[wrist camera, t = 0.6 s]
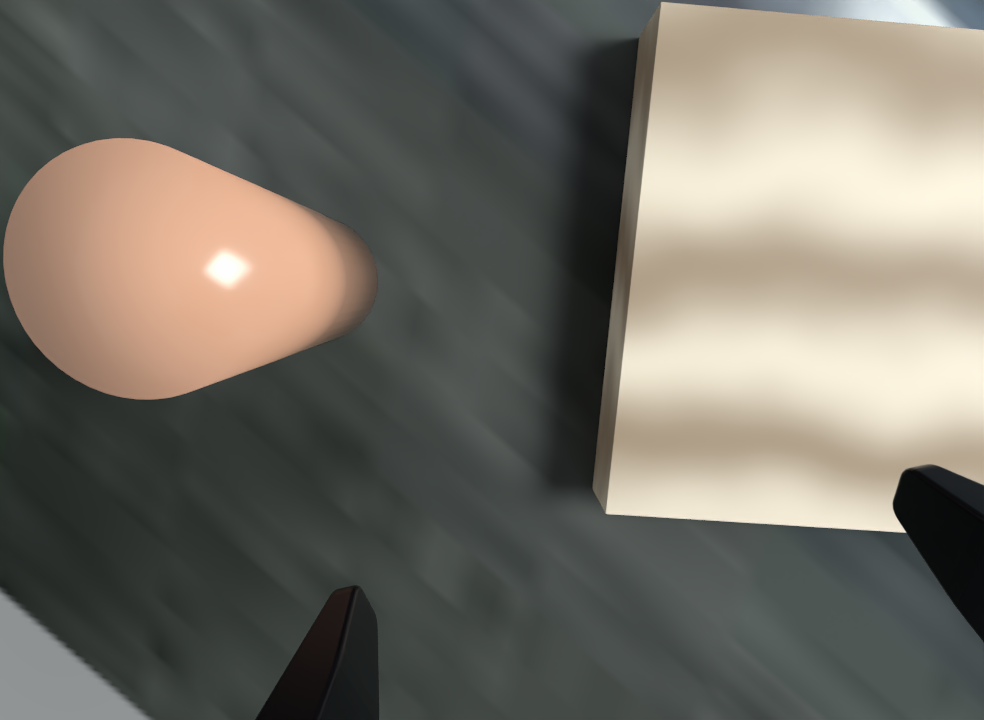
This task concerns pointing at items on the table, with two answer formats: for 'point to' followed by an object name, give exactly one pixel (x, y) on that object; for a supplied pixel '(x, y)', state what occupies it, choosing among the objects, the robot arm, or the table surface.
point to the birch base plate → (795, 269)
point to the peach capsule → (174, 270)
